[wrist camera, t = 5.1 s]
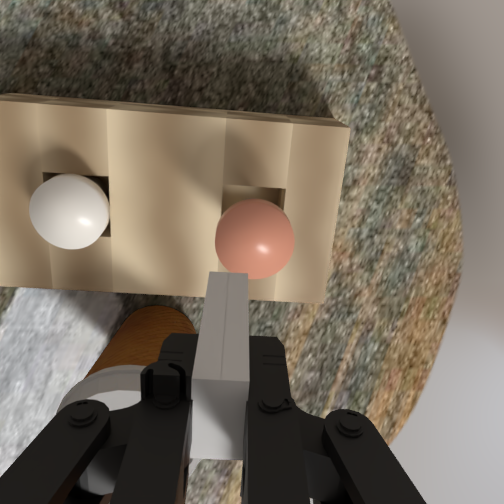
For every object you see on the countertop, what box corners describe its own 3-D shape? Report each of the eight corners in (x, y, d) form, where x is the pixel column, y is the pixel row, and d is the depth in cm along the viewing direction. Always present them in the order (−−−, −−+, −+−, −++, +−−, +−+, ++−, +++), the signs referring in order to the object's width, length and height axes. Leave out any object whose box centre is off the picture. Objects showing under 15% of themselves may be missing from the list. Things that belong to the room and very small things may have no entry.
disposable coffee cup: (106, 278, 37) (50, 371, 26) (225, 297, 38) (221, 396, 27) (96, 375, 40) (44, 495, 29) (205, 391, 41) (195, 513, 30)
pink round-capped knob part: (216, 245, 31) (212, 277, 26) (219, 180, 29) (216, 202, 25) (282, 249, 31) (290, 281, 27) (289, 184, 30) (299, 207, 25)
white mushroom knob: (60, 221, 33) (33, 247, 28) (55, 158, 31) (25, 175, 27) (124, 225, 33) (106, 251, 29) (122, 163, 31) (103, 180, 27)
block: (29, 256, 36) (-1, 286, 31) (11, 92, 31) (-27, 98, 27) (312, 273, 37) (323, 303, 33) (334, 118, 33) (350, 127, 28)
